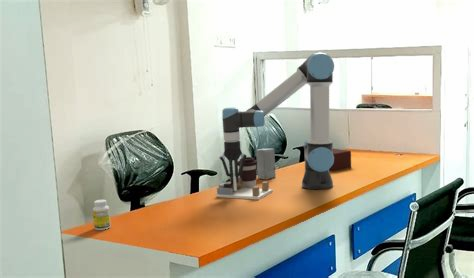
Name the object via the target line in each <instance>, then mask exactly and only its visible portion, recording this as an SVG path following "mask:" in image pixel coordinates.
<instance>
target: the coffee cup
mask: <svg viewBox="0 0 474 278" xmlns="http://www.w3.org/2000/svg"><path fill="white" fill-rule="evenodd" d="M240 162H241V158H239V160H238V169H239V168H240ZM240 178H241V179H242V182H243V188H252V187H254V186H257V179H258V176H257V159H255V158H254V157H251V156H247V157H246V158H245V160H244V166H243V171H242V175H240Z"/></svg>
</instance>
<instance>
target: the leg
mask: <svg viewBox="0 0 474 278" xmlns="http://www.w3.org/2000/svg"><path fill="white" fill-rule="evenodd" d="M223 183H224V188H233V184H231V181H228V182H223ZM236 186H237V190H239V189H241V188H243V182H242V179H241V178H240V177H238V183H236ZM233 192H235V191H234V190H233Z"/></svg>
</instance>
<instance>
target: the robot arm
mask: <svg viewBox="0 0 474 278" xmlns="http://www.w3.org/2000/svg"><path fill="white" fill-rule="evenodd" d="M334 70H335V62H334V60H333V58H332V57H331V56H330V54H327V53H325V52H316V53H313V54H311V55H310V56H308V57H307V58H306V60H305V61H304V62H303V63H301V65H299V66H298V67H297V68H296V71H294V73H293V74H291V75H290V76H289V77H288V78H286V79H284V81H283V82H281V83H280V84H279V85H277V86H276V87H275V88H273V90H272V91H270V92H269V93H268V94H266V95H265V96H264V97H262V98H261V99H260V100H259V101H257V102H256V103H255V104H254V105H252V106H251V107H249V108H248V109H246V110H245V111H241V110H240V111H239V108H238V107H236V106H235V107H225V108H223V109H222V114H221V115H222V116H221V119H222V130H223V131H222V132H223V133H222V134H223V141H224V142H223V147H224V148H223V149H224V152H223V154H222V155H221V156H220V155H219V157H218V158H219V159H220V160H221V163H222V167H223V169H224V172H225V175H226V176H227V177H229V178H230V179H229V180H230V181H231V184H233V190H234V191H237V186H236V183H238V176H240V175H242V171H243V166H244V160H245V158H246V157H248V156H247V154H245V153H243V151H242V149H241V141H240V140H241V139H240V138H241V137H240V135H241V134H240V128H241V129H242V128H259V127H264V126H265V117H266V116H268V114H270V113H271V112H272V111H273V110H275V109H276V108H278V106H280V105H282V103H283V102H285V101H286V100H287V99H289V98H290V97H291V96H293V95H294V94H295V93H296V92H298V91H299V90H300V89H302V88H304V86H306V85H309V87H310V88H309V89H310V91H309V92H310V95H309V97H310V98H309V99H310V101H309V105H310V107H309V108H310V114H309V115H310V137H309V139H308V140H305V141H304V144H303V149H304V174H303V178H302V181H301V187H302V188H304V189H308V190H325V189H331V188H332V187H334V181H333V178H332V175H331V173H330V172H331V171H329V169H330V168H331V166H332V165H333V162H334V155H333V149H334V148H333V143H334V142H333V140H331V139H330V86H331V85H332V84H333V83H334V82H333V78H334V76H333V74H334V73H333V72H334ZM240 157H241V158H240ZM225 159H227V160H228V166H227V164H226V160H225ZM240 159H241V162H240V168H239V166H238V161H239V160H240ZM233 163H234V165H233ZM233 166H234V167H233ZM228 168H229V170H228Z"/></svg>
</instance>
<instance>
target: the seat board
mask: <svg viewBox="0 0 474 278" xmlns="http://www.w3.org/2000/svg"><path fill="white" fill-rule="evenodd" d="M224 183H225V182H223V183H220V184H218V187H217V188H216V195H215V196H216V198H228V199H229V198H230V199H231V198H232V199H243V200H244V199H245V200H261V199H262V198H265V197H266V196H267V195H270V194H271V193H273V189H270V186H269V185H270V184H269V181H262V182H261V188H260V186H257V185H256V186H254V187H252V188H241V189H239V190H237V191H235V192H233V188H224Z"/></svg>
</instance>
